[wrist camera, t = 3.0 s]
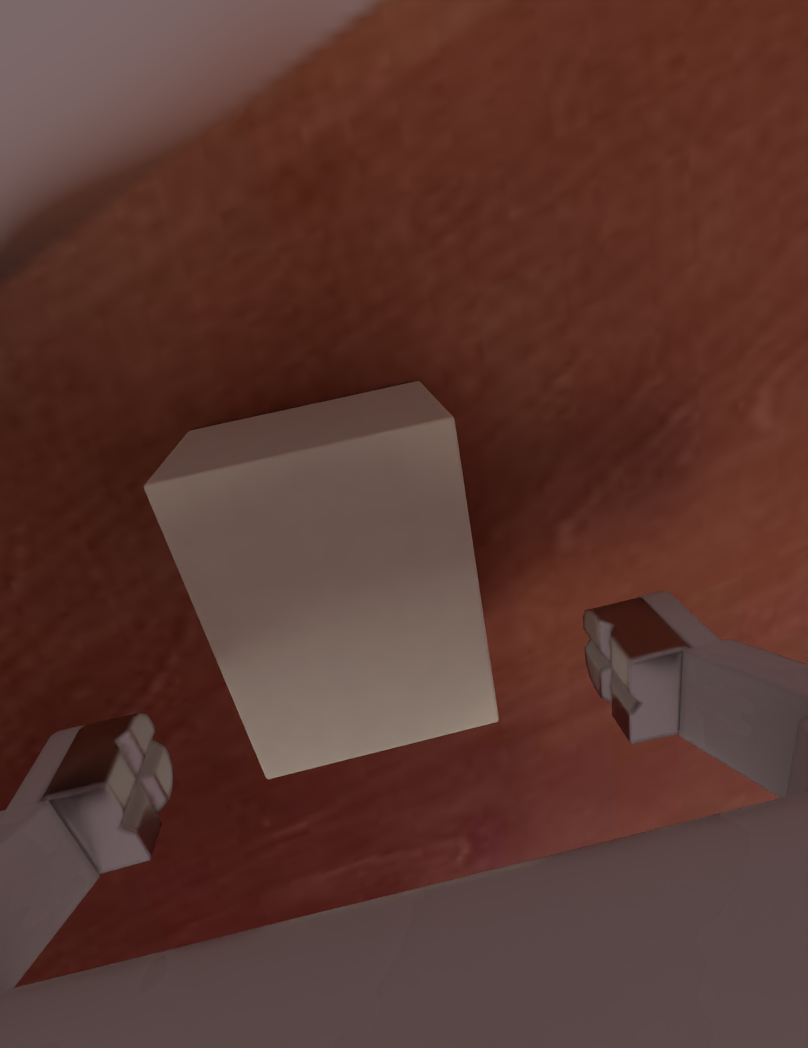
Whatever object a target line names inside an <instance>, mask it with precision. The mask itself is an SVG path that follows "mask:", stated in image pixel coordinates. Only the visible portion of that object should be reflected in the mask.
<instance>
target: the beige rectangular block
mask: <svg viewBox="0 0 808 1048" xmlns="http://www.w3.org/2000/svg"><path fill="white" fill-rule="evenodd" d="M144 490H145V492H146V494H147V497H148V499H149V502H150V504H151V506H152V509H153V511H154V513H155V516H156V518H157V521H158V523H159V525H160V528H161V530H162V532H163V535H164V537H165V540H166V542H167V544H168V547H169V549H170V551H171V554H172V556H173V558H174V561H175V563H176V566H177V568H178V570H179V573H180V575H181V577H182V580H183V582H184V585H185V587H186V589H187V592H188V594H189V596H190V599H191V601H192V604H193V606H194V608H195V611H196V613H197V615H198V618H199V620H200V622H201V625H202V627H203V630H204V632H205V634H206V637H207V639H208V641H209V644H210V646H211V649H212V651H213V653H214V656H215V658H216V660H217V663H218V665H219V668H220V670H221V672H222V675H223V677H224V679H225V682H226V684H227V686H228V689H229V691H230V694H231V696H232V698H233V701H234V703H235V705H236V708H237V710H238V713H239V715H240V717H241V720H242V722H243V724H244V727H245V729H246V732H247V734H248V736H249V739H250V741H251V743H252V746H253V748H254V750H255V753H256V755H257V758H258V760H259V762H260V765H261V767H262V769H263V772H264V774H265V777H266V778H267V779H271V778H275V777H279V776H283V775H287V774H291V773H295V772H299V771H303V770H307V769H311V768H315V767H319V766H323V765H327V764H331V763H335V762H339V761H343V760H347V759H351V758H355V757H359V756H363V755H367V754H371V753H375V752H379V751H383V750H387V749H391V748H395V747H399V746H403V745H407V744H411V743H415V742H419V741H423V740H427V739H431V738H435V737H439V736H443V735H447V734H451V733H455V732H459V731H463V730H467V729H471V728H475V727H479V726H483V725H487V724H491V723H495V722H498V720H499V717H498V710H497V703H496V696H495V690H494V683H493V676H492V669H491V663H490V656H489V649H488V642H487V636H486V629H485V622H484V615H483V608H482V602H481V595H480V588H479V581H478V575H477V568H476V561H475V554H474V548H473V541H472V534H471V527H470V520H469V514H468V507H467V500H466V493H465V487H464V480H463V473H462V466H461V460H460V453H459V446H458V439H457V432H456V426H455V419H454V418H453V416H452V415H451V414H450V413H449V412H448V411H447V410H446V409H445V408H444V407H443V406H442V405H441V403H440V402H439V401H438V400H437V399H436V398H435V397H434V396H433V395H432V394H431V393H430V392H429V391H428V390H427V389H426V388H425V386H424V385H423V384H422V383H421V382H420V381H415V382H411V383H406V384H402V385H397V386H392V387H388V388H383V389H379V390H374V391H369V392H365V393H360V394H356V395H351V396H347V397H342V398H337V399H333V400H328V401H324V402H319V403H314V404H310V405H305V406H301V407H296V408H291V409H287V410H282V411H278V412H273V413H268V414H264V415H259V416H255V417H250V418H245V419H241V420H236V421H232V422H227V423H222V424H218V425H213V426H209V427H204V428H200V429H195V430H190V431H188V432H187V434H186V435H185V436H184V437H183V438H182V440H181V441H180V442H179V443H178V445H177V446H176V447H175V448H174V449H173V451H172V452H171V453H170V454H169V456H168V457H167V458H166V459H165V460H164V462H163V463H162V464H161V465H160V466H159V468H158V469H157V470H156V471H155V473H154V474H153V475H152V476H151V477H150V479H149V480H148V481H147V482H146V484H145V485H144Z"/></svg>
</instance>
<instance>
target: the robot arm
mask: <svg viewBox="0 0 808 1048" xmlns="http://www.w3.org/2000/svg"><path fill="white" fill-rule="evenodd" d="M583 629H584V630H585V632H586V633H587V634H588V636H589V637H590V640H589V642H588V643H587V645H586V646H585V659H586V665H587V669H588V672H589V676H590V679H591V681H592V683H593V685H594V687H595V689H596V691H597V692H598V694H599V695H600V697H601V698H603V699H605V700H607V701H609V702H611V703H612V716H613V717H614V719H615V720H616V722H617V723H618V725H619V726H620V728H621V729H622V731H623V733H624V734H625V736H626V737H627V739H628V740H629V742H630V743H631V744H633V743H638V742H642V741H647V740H652V739H656V738H661V737H666V736H671V735H675V734H679V736H680V737H681V738H683V739H685V740H686V741H688V742H690V743H691V744H693V745H695V746H696V747H698V748H700V749H701V750H703V751H705V752H706V753H708V754H709V755H711V756H713V757H714V758H716V759H718V760H719V761H721V762H723V763H724V764H726V765H728V766H729V767H731V768H732V769H734V770H736V771H737V772H739V773H741V774H742V775H744V776H746V777H747V778H749V779H751V780H752V781H754V782H756V783H757V784H759V785H760V786H762V787H764V788H765V789H767V790H769V791H770V792H772V793H774V794H775V795H777V796H779V797H780V798H779V799H775V800H771V801H767V802H763V803H759V804H755V805H751V806H747V807H743V808H739V809H735V810H731V811H727V812H723V813H719V814H715V815H711V816H707V817H703V818H699V819H695V820H691V821H687V822H683V823H678V824H674V825H670V826H666V827H662V828H658V829H654V830H650V831H646V832H642V833H638V834H634V835H630V836H626V837H622V838H618V839H614V840H610V841H606V842H602V843H598V844H594V845H590V846H586V847H581V848H577V849H573V850H569V851H565V852H561V853H557V854H553V855H549V856H545V857H541V858H537V859H533V860H529V861H525V862H521V863H517V864H513V865H509V866H505V867H501V868H497V869H493V870H489V871H485V872H481V873H477V874H473V875H469V876H464V877H460V878H456V879H452V880H448V881H444V882H440V883H436V884H432V885H428V886H424V887H420V888H416V889H412V890H408V891H404V892H400V893H396V894H392V895H388V896H384V897H380V898H376V899H372V900H368V901H364V902H360V903H356V904H352V905H347V906H343V907H339V908H335V909H331V910H327V911H323V912H319V913H315V914H311V915H307V916H303V917H299V918H295V919H291V920H287V921H283V922H279V923H275V924H271V925H267V926H263V927H259V928H255V929H251V930H247V931H243V932H239V933H234V934H230V935H226V936H222V937H218V938H214V939H210V940H206V941H202V942H198V943H194V944H190V945H186V946H182V947H178V948H174V949H170V950H166V951H162V952H158V953H154V954H150V955H146V956H142V957H138V958H134V959H130V960H126V961H122V962H118V963H114V964H110V965H105V966H101V967H97V968H93V969H89V970H85V971H81V972H77V973H73V974H69V975H65V976H61V977H57V978H53V979H49V980H45V981H41V982H37V983H33V984H29V985H25V986H21V987H17V988H14V987H15V985H16V984H17V983H18V981H19V980H20V979H21V978H22V976H23V975H24V974H25V972H26V971H27V970H28V969H29V967H30V966H31V965H32V963H33V962H34V961H35V960H36V958H37V957H38V956H39V954H40V953H41V952H42V951H43V949H44V948H45V947H46V945H47V944H48V943H49V942H50V940H51V939H52V938H53V936H54V935H55V934H56V933H57V931H58V930H59V929H60V927H61V926H62V925H63V924H64V922H65V921H66V920H67V918H68V917H69V916H70V915H71V913H72V912H73V911H74V909H75V908H76V907H77V906H78V904H79V903H80V902H81V900H82V899H83V898H84V897H85V895H86V894H87V893H88V891H89V890H90V889H91V888H92V886H93V885H94V884H95V882H96V881H97V880H98V879H99V877H100V875H99V874H101V873H105V872H108V871H112V870H116V869H119V868H123V867H127V866H130V865H134V864H138V863H141V862H145V861H149V860H151V857H152V854H153V850H154V847H155V844H156V840H157V837H158V834H159V831H160V827H161V824H162V823H161V821H160V820H159V818H158V816H157V813H158V812H159V811H160V809H161V808H162V807H163V806H164V805H165V804H166V803H167V802H168V801H169V797H170V794H171V790H172V786H173V767H172V763H171V759H170V756H169V754H168V752H167V750H166V748H165V746H163V745H161V744H160V743H158V742H156V741H154V740H152V737H153V734H154V732H155V729H156V728H155V726H154V725H153V723H152V721H151V719H150V718H149V716H148V715H146V714H143V713H138V714H133V715H128V716H124V717H119V718H114V719H109V720H105V721H100V722H95V723H90V724H87V725H82V726H77V727H73V728H68V729H64V730H59V731H58V732H56V733H54V734H53V735H51V736H50V738H49V740H48V741H47V743H46V745H45V746H44V748H43V749H42V751H41V753H40V754H39V756H38V758H37V759H36V761H35V763H34V764H33V766H32V768H31V769H30V771H29V773H28V774H27V776H26V778H25V779H24V781H23V783H22V784H21V786H20V787H19V789H18V791H17V792H16V794H15V796H14V797H13V799H12V801H11V802H10V804H9V806H8V807H7V809H6V810H4V811H0V1048H808V665H807V664H804V663H801V662H798V661H795V660H792V659H789V658H786V657H783V656H780V655H777V654H774V653H771V652H768V651H765V650H762V649H759V648H756V647H753V646H750V645H747V644H744V643H741V642H738V641H735V640H732V639H728V640H723V641H721V640H720V639H719V638H718V637H717V636H716V635H715V634H714V633H713V632H712V631H711V630H709V629H708V628H707V627H706V626H705V625H704V624H703V623H702V622H701V621H700V620H699V619H697V618H696V617H695V616H694V615H693V614H692V613H691V612H690V611H689V610H688V609H687V608H686V607H684V606H683V605H682V604H681V603H680V602H679V601H678V600H677V599H676V598H675V597H674V596H672V595H671V594H670V593H669V592H667V591H664V590H662V591H658V592H654V593H650V594H647V595H643V596H639V597H637V598H635V599H630V600H626V601H622V602H618V603H613V604H609V605H605V606H601V607H596V608H592V609H588V610H585V611H584V615H583Z"/></svg>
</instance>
